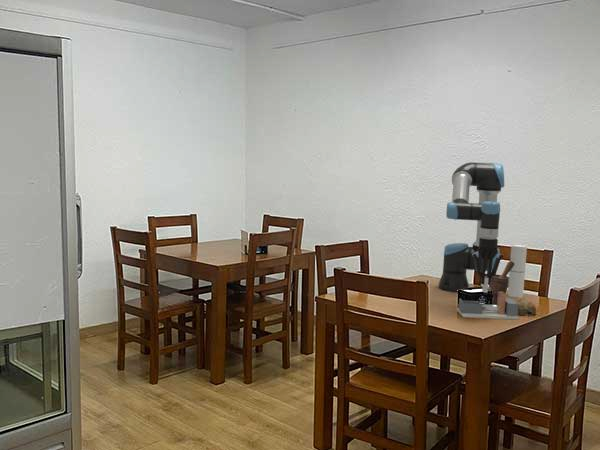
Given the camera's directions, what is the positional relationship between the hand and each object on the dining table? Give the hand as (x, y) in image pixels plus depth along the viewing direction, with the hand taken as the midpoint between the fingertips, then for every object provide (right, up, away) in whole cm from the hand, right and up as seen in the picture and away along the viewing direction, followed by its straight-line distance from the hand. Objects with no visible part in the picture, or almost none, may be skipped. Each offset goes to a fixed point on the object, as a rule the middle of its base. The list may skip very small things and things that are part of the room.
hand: (484, 291), depth 265 cm
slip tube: (+5, -9, 0) cm, 10 cm away
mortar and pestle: (+13, -8, +22) cm, 27 cm away
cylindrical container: (+27, -6, +38) cm, 47 cm away
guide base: (+1, -10, 0) cm, 10 cm away
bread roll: (+18, -10, +5) cm, 22 cm away
